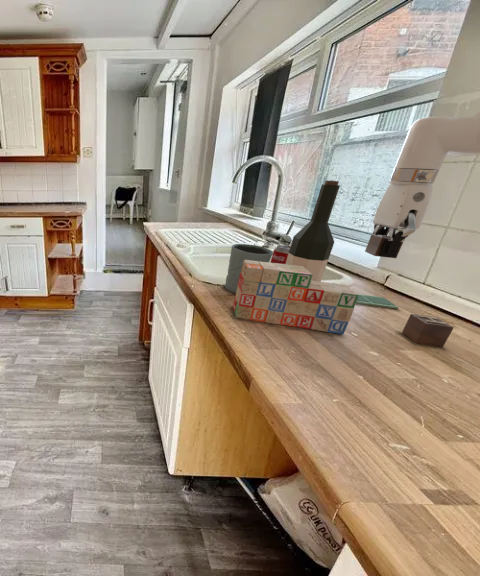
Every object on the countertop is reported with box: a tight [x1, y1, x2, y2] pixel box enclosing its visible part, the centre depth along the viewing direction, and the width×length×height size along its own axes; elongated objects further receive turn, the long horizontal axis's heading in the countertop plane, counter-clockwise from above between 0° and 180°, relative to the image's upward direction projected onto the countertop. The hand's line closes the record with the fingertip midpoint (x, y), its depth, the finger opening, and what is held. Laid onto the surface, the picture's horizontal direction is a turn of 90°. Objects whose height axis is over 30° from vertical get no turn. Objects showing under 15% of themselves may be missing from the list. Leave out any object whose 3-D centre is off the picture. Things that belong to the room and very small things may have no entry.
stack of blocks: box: [232, 260, 359, 335], centre depth 67 cm, size 21×6×12 cm, turn 73°
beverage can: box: [269, 245, 291, 264], centre depth 87 cm, size 6×6×12 cm
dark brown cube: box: [364, 234, 404, 259], centre depth 77 cm, size 5×5×5 cm
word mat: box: [356, 293, 399, 310], centre depth 83 cm, size 11×7×1 cm, turn 75°
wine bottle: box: [286, 180, 341, 282], centre depth 74 cm, size 8×8×30 cm
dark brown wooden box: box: [401, 313, 454, 348], centre depth 64 cm, size 5×5×5 cm
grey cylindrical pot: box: [224, 243, 273, 294], centre depth 84 cm, size 10×10×12 cm
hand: (380, 253), depth 77 cm, fingers closed on dark brown cube, 4 cm apart
